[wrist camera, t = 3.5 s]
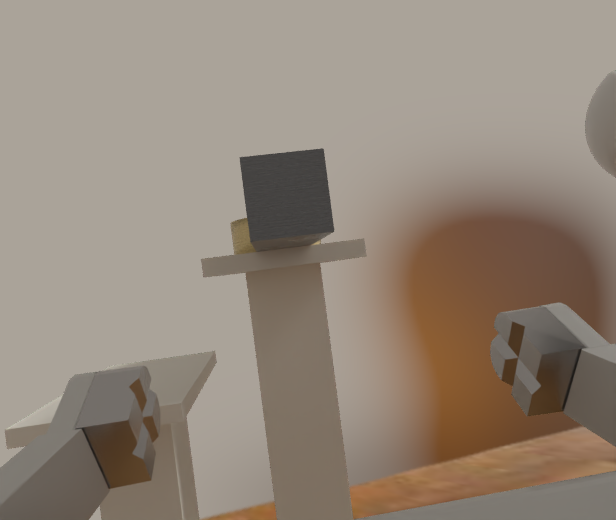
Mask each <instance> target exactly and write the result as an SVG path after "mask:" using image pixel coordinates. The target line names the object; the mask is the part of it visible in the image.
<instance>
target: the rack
mask: <svg viewBox="0 0 616 520" xmlns="http://www.w3.org/2000/svg"><path fill="white" fill-rule="evenodd" d="M365 256H366V250H365V242H364V239H357V240H349V241H341V242H333V243H325V244H317V245H309V246H301V247H293V248H285V249H277V250H269V251H261V252H253V253H245V254H237V255H229V256H222V257H213V258H205V259H201V261H202V269H203V277H212V276H221V275H230V274H238V273H246V280H247V288H248V296H249V304H250V311H251V319H252V326H253V335H254V342H255V351H256V358H257V366H258V373H259V381H260V390H261V397H262V405H263V413H264V421H265V429H266V437H267V445H268V452H269V460H270V468H271V475H272V483H273V492H274V499H275V507H276V515H277V520H353V514H352V506H351V498H350V491H349V483H348V476H347V468H346V460H345V452H344V444H343V437H342V429H341V421H340V413H339V406H338V398H337V390H336V383H335V375H334V367H333V359H332V352H331V344H330V336H329V329H328V321H327V313H326V306H325V298H324V290H323V282H322V275H321V267H320V263H323V262H331V261H337V260H345V259H352V258H359V257H365ZM215 364H216V354H215V351H212V352H205V353H198V354H191V355H184V356H177V357H170V358H163V359H156V360H150V361H143V362H135V363H128V364H122V365H114V366H109V367H108V368H106V369H104V370H103V371H106V370H113V369H121V368H129V367H137V366H145V367H147V368H148V371H149V374H150V376H151V383H150V388H149V389H150V390H152V391H153V392H155V393H156V395H157V398H158V401H159V407H160V432H159V437H158V438H157V439H156V440H155V441H154V442H153V446H154V449H155V452H156V456H155V462H154V467H153V473H152V479H151V481H147V482H142V483H137V484H132V485H127V486H122V487H117V488H112V489H109V490H110V492H109V493H108V495H107V496H106V497H105V499H104V500H103V501H102V503H101V504H100V510H101V519H102V520H199V513H198V505H197V497H196V489H195V481H194V473H193V465H192V457H191V449H190V441H189V434H188V425H187V417H186V416H187V414H188V412H189V411H190V409H191V407H192V405H193V404H194V402H195V400H196V398H197V396H198V394H199V393H200V391H201V389H202V387H203V386H204V384H205V382H206V380H207V378H208V377H209V375H210V373H211V371H212V370H213V368H214V366H215ZM62 396H63V395H61V396H60V397H58V398H57V399H55V400H53V401H52V402H50V403H48V404H47V405H45V406H43V407H42V408H40V409H38V410H37V411H35V412H33V413H32V414H30V415H28V416H27V417H25V418H24V419H22V420H20V421H19V422H17V423H15V424H14V425H12V426H10V427H9V428H7V429H6V430H5V435H6V444H7V449H10V448H16V447H24V446H27V445H28V444H29V443H30V442H31V441H33V440H34V439H35V438H36V437H37V436H39V435H45V434H46V433H47V431H48V428H49V426H50V424H51V421H52V419H53V417H54V415H55V412H56V410H57V408H58V405H59V403H60V401H61V398H62Z"/></svg>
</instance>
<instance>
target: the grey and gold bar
mask: <svg viewBox="0 0 616 520" xmlns="http://www.w3.org/2000/svg"><path fill="white" fill-rule="evenodd" d="M240 164H241V172H242V180H243V187H244V196H245V204H246V211H247V218H244V219H240V220H237V221H234V222H232V223H231V231H232V239H233V247H234V255H237V254H245V253H253V252H261V251H269V250H277V249H285V248H293V247H301V246H309V245H317V244H321V239H322V238H324V237H326V236H327V235H329V234H331V233H333V232H334V226H333V218H332V210H331V203H330V196H329V188H328V180H327V172H326V165H325V157H324V149H314V150H305V151H296V152H286V153H277V154H268V155H258V156H250V157H240Z"/></svg>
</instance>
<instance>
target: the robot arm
mask: <svg viewBox="0 0 616 520" xmlns="http://www.w3.org/2000/svg"><path fill="white" fill-rule="evenodd" d="M585 133H586V139H587V143H588V146H589V148H590V151H591V153H592V154H593V156H594V158H595V159H596V161H597V162H598V163H599V165H601V167H602V168H604V169H605V170H606V171H607V172H608V173H610V174H611V175H613V176H614V177H616V70H615V71H613V72H611V73H609V74H608V75H607V76H606V78H605V79H604V80H603V81H602V83H601V84H600V85H599V87H598V88H597V90H596V91H595V93H594V95H593V97H592V99H591V102H590V104H589V107H588V110H587V114H586V121H585ZM494 328H495V329H496V330H497V331H498V333H499V334H498V335H497V336H496V337H495V339H494V340H493V341H492V342H491V351H490V354H491V359H492V364H493V367H494V369H495V371H496V373H497V375H498V376H499V378H500V379H501V380H502V381H504V382H505V383H507V384H509V385H511V386H513V388H512V396H513V397H514V399H515V400H516V402H517V403H518V404H519V405H520V407H521V408H522V410H523V411H524V412H525V414H526V415H527V416H534V415H540V414H548V413H554V412H561V411H564V412H563V413H564V414H565V415H567V416H569V417H570V418H572V419H573V420H575V421H576V422H578V423H580V424H581V425H583V426H584V427H586V428H587V429H589V430H590V431H592V432H594V433H595V434H597V435H598V436H600V437H601V438H603V439H605V440H606V441H608V442H609V443H611V444H612V445H614V446H615V447H616V344H611V345H610V344H609V343H608V342H607V341H605V340H604V339H603V338H602V337H601V336H600V335H599V334H598V333H597V332H596V331H594V330H593V329H592V328H591V327H590V326H589V325H588V324H587V323H585V321H583V320H582V319H581V318H580V317H579V316H578V315H577V314H576V313H575V312H573V311H572V310H571V309H570V308H569V307H568V306H567V305H565V304H562V303H555V304H549V305H543V306H539V307H533V308H527V309H521V310H515V311H508V312H501V313H499V314H498V315H497V317H496V319H495V324H494ZM150 383H151V376H150V374H149V371H148V368H147V367H145V366H137V367H129V368H121V369H113V370H106V371H99V372H93V373H85V374H77V375H74V376H73V377H72V378H71V379H70V380H69V382H68V385H67V387H66V389H65V392H64V394H63V396H62V398H61V401H60V403H59V405H58V408H57V410H56V412H55V415H54V417H53V419H52V421H51V424H50V426H49V428H48V431H47V433H46V434H45V435H39V436H37V437H36V438H35V439H34V440H33V441H31V442H30V443H29V444H28V445H27V446H26V447H24V448H23V449H22V450H21V451H20V452H19V453H18V454H16V455H15V456H14V457H13V458H11V459H10V460H9V461H8V462H7V463H6V464H4V465H3V466H2V467H1V468H0V520H89V518H90V517H91V516H92V515H93V513H94V512H95V511H96V509H97V508H98V507H99V505H100V504H101V503H102V501H103V500H104V499H105V497H106V496H107V495H108V493H109V492H110V490H109V489H112V488H117V487H122V486H127V485H132V484H137V483H142V482H147V481H151V479H152V473H153V467H154V462H155V456H156V452H155V449H154V446H153V442H154V441H155V440H156V439H157V438H158V437H159V432H160V407H159V401H158V398H157V395H156V393H155V392H153V391H152V390H150V389H149V388H150ZM354 520H616V471H612V472H607V473H602V474H596V475H591V476H585V477H580V478H575V479H569V480H564V481H558V482H553V483H548V484H542V485H537V486H532V487H526V488H521V489H515V490H510V491H505V492H499V493H494V494H489V495H483V496H478V497H472V498H467V499H462V500H456V501H451V502H446V503H440V504H435V505H429V506H424V507H418V508H413V509H408V510H402V511H397V512H391V513H386V514H381V515H375V516H370V517H364V518H359V519H354Z"/></svg>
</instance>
